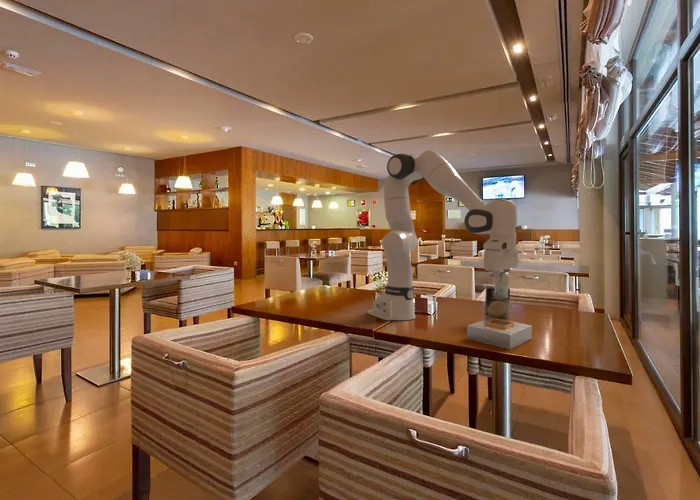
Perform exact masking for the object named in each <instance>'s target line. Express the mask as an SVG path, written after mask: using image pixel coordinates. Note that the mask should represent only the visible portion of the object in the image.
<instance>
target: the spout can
mask: <svg viewBox="0 0 700 500" xmlns="http://www.w3.org/2000/svg"><path fill="white" fill-rule="evenodd" d="M499 274H500V278H501V282H499V283H496V282H494V286H495V293H494V297H497V298H508V288H509V278H510V274H509V272H504V271H500V273H499ZM490 277H491V278H494V275H493V273H489V278H490Z"/></svg>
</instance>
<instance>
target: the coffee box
mask: <svg viewBox="0 0 700 500" xmlns="http://www.w3.org/2000/svg"><path fill="white" fill-rule="evenodd" d="M494 293H495V285H494V286H493V285H485V297H484V298H485V300H484V319H483V320H485V319H488V318H490V317H491V318H496V319H501V320H506V321H509V317H510V316H509V315H510V297H511V295H510V294H511V289H510V288H509V287H508V298H497V297H494Z"/></svg>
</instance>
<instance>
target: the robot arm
mask: <svg viewBox="0 0 700 500" xmlns="http://www.w3.org/2000/svg"><path fill="white" fill-rule="evenodd" d="M386 169H387V173H388V174H389V175H388V176H386V177H385V179H384V182H383V183H384V184H383V201H384V203H383V204H384V212H385V219H386V221H387V223H388V226H389V228H390V231H389V232H388V233H387V234H385V235H384V237H383V238H382V241H381V245H382V246H381V247H382V249H383V250H384V254H385V259H386V264H387V285H385V286H383V287H382V290H384V293H382V294H381V295H379V297H377V298H376V299H374V301H373V303H372V305H373V306H372V309H370V310H368V311H367V315H369V316H370V315H371V316H374V317H375V318H379V319H382V320H384V321H410V320H414V319H416V314H415V309H414V299H413V297H414V285H413V281H414V280H413V277H414V273H413V271H414V269H413V265H412V261H411V256H410V253H412V252H414V250H415V249H416V248H417V247H418V244H419V240H418V237H417V234H416V231H415V226H414V223H413V218H412V214H411V213H412V211H411V206H410V193H409V187H410V185H411V184H412V185H415V184H418V182H420V181H423V180H424V179H425V181H426V182H427V183H428V184H429V185H430V187H431V188H432V189H433V190H435V191H436V192H437V193H439V194H441V195H443V196H446V197H449V198H453V199H454V200H457V201H458V202H460V204H462V205H463V206H464V207H466V209H467V210H468V212H467V213H466V214H465V216H464V219H463V220H464V222H463V223H464V227H465V228H466V230H467V231H468V232H470V233H471V234H476V235H489V238H488V239H487V240H486V241H485V242H484V243H483V245H482V246H483V247H482V248H483V249H484V251H483V268H484V270H485V271H488V272H492V274H493V275H494V277H493V278H494V283H495V282H496V283H499V282H501V278H500V274H499V273H500V272H501V271H502V272H509V275H510V273H511V269H515V268H518V266H519V250H518V248H517V232H516V228H517V227H516V226H517V223H518V221H517V220H518V219H517V218H518V216H517V215H518V213H517V205H516V202H514V201H513V200H511V199H503V198H493V199H492V200H491V201H490V202H488V203H486V202H485V201H483V199H481V197H479V196H478V195H477V194H476V192H474V190H473V189H471V187H470V186H468V184H467V183H466V182H465V180H464V179H463V178H462V177H461V176H460V174H459V173H458V171H456V169H455V168H454V167H453V165H452V164H451V163H449V161H448V160H446V158H444V156H442V155H441V154H440V153H438V152H437V151H436V150H433V149H428V150H425V151H423V152H422V153H420V155H416V154H412V153H410V154H407V153H406V154H405V153H396V154H394V155H392V156H390V157H389V159H388V161H387V164H386Z"/></svg>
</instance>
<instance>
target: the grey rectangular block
mask: <svg viewBox="0 0 700 500" xmlns="http://www.w3.org/2000/svg"><path fill="white" fill-rule="evenodd" d="M466 326H467V327H466V339H467V340H469V339H470V341H473V340H474V342H477V341H478V343H481V342H482V344H486V345H490V346H493V345H494V347H497V346H498V348H501V347H502V349H505V348H506V350H509V349H510V350H512V349H514V348H516V347H519V346H520V345H523V344H525V343H526V342H528V341H529V340H530V341H531V340H532V335H533V333H532V332H533V325H532V324H526V323H522V322H517V321H511V320H508V321H506V320H501V319H496V318H491V317H490V318H488V319H485V320H484V319H482V320H479V321H476V322H474V323H471V324H468V325H466Z"/></svg>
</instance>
